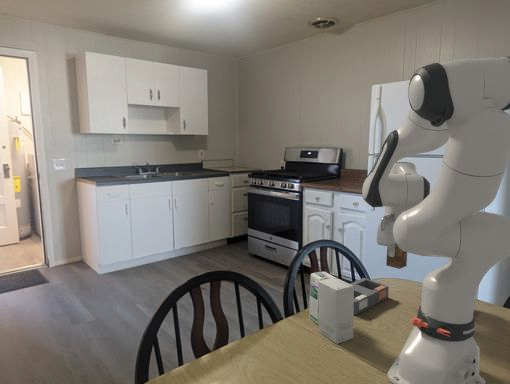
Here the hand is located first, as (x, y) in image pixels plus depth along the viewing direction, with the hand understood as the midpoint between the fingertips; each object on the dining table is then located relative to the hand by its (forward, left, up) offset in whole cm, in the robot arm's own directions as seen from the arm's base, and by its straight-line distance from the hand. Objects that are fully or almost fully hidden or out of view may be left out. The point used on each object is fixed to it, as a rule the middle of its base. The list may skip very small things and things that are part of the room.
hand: (397, 254), depth 116 cm
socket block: (-5, +10, -18) cm, 21 cm away
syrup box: (-25, +10, -19) cm, 32 cm away
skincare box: (-29, +2, -19) cm, 34 cm away
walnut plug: (0, 0, -4) cm, 4 cm away
